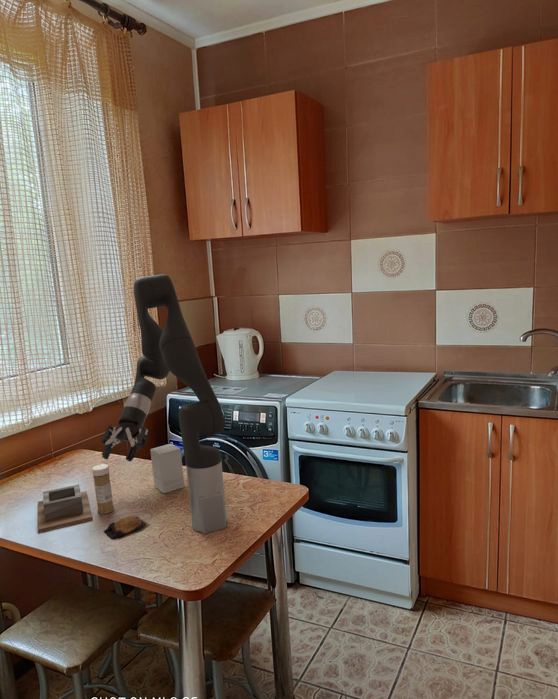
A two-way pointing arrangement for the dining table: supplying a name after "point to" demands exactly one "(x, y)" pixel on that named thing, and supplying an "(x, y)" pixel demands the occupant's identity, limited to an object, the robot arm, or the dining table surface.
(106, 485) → the sprinkles bottle
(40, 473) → the dining table surface
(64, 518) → the collar board
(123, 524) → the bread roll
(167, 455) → the supplement box
